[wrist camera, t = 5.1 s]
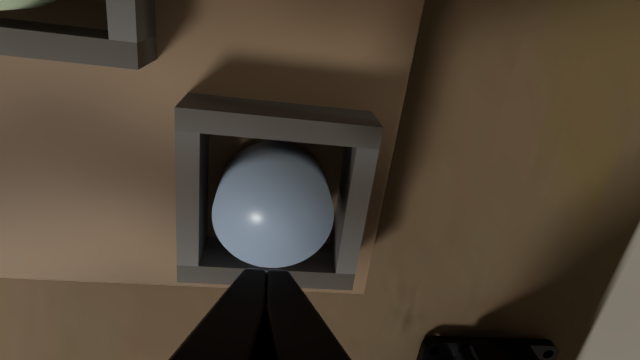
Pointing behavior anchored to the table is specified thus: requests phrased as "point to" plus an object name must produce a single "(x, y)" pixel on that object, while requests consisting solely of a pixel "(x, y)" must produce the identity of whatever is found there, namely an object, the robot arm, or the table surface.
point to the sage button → (22, 4)
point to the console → (190, 130)
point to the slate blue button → (273, 205)
